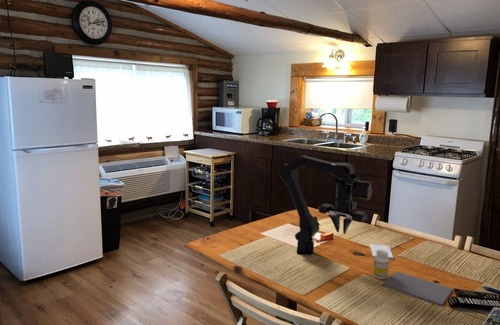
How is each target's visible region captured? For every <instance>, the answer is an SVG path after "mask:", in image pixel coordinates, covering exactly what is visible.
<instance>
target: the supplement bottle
mask: <svg viewBox="0 0 500 325" xmlns="http://www.w3.org/2000/svg"><path fill="white" fill-rule="evenodd" d="M376 254H377V255H376V256H375V257H373V268H372V269H373V270H372V276H373V277H374V278H376V279H379V280H386V279H388V278H389V277H388V276H389V266H390V259H389V258H388V252H387V251H384V250H377V253H376Z"/></svg>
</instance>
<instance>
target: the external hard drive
mask: <svg viewBox="0 0 500 325" xmlns="http://www.w3.org/2000/svg"><path fill="white" fill-rule="evenodd" d="M369 247H370V251H371V255H372V258H374V257H375V256H376V255H377V254H376V253H377V250H384V251H387V252H388V258H389V260H394V259H395V258H394V255H393V253H392V250H391V247H390V246H389V245H385V244H382V245H381V244H375V243H374V244H372V243H371V244H370V245H369Z"/></svg>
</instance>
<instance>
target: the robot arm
mask: <svg viewBox="0 0 500 325" xmlns="http://www.w3.org/2000/svg"><path fill="white" fill-rule="evenodd" d="M304 167H307V168H310V169H314V170H318V171H322V172H325V173H328V174H330V175H332V176H333V177H335V178H334V179H333V180H332V181H331V183H332V184H334V185H335V184H336V190H335V191H336V193H335V194H336V195H335V197H334V199H333V200H334V202H335V205H334V204H330V203H323V204H321V205H320V206H319V207H318V213H320V214H327V212H329V214H328V215H327V217H329V218H330V221H331V222H332V223H333V226H334V229H335V231H336V232H337V233H339V232H340V227H341V226H340V224H341V222H340V220H341V216H342V215H343V216H346V217H345V218H343V220H342V221H343V226H342V231H343V232H342V234H343V235H346V234H347V231H348V229H349V227H350V225H351V224H352V222H357V223H363V222H365V221H366V220H368V213H367V212H366V211H362V210H356V209H357V205H358V202H357V201H353V197H354V198H357V199H363V200H367V201H368V200H370V199H371V197H372V193H373V188H372V182H371V181H364V180H360V178H359V176H358V175H357V173H356V171H355V167H354V165H353V164H351V163H350V162H331V161H328V160H323V159H320V158H316V157H311V156H308V155H306V154H303V155H300V156H298V157H296V158H295V159H293V160H292V161H290V162H289V163H285V164H283V165H280V167H279V169H278V174H279V176H280V178H281V180H282V182H283V183H285V184H286V185H287V187H288V190H289V193H290V196H291V198H292V201H293V203H294V204H293V205H294V207H295V209H296V211H297V214H298V218H299V221H298V222H299V224H298V226H299V231H297V232H296V233H295V234H294V237H295V238H294V239H295V240H296V241H297V246H296V254H297V255H309V256H312V255H313V252H314V249H315V248H314V246H315V245H314V244H315V242H314V239H313V237H315V235H316V234H317V233H318V232H319V230H320V225H321V224H320V223H319V220H318V217H317V215H315V216H313V214H311V212H310V210H309V206H308V203H307V202H306V199H305V196H304V194H303V190H302V187H301V185H300V182H299V181H300V180H299V178H300V177H299V174H300V173H299V170H301V169H302V168H304ZM352 196H353V197H352ZM353 210H354V212H353Z"/></svg>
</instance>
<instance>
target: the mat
mask: <svg viewBox="0 0 500 325" xmlns="http://www.w3.org/2000/svg"><path fill="white" fill-rule="evenodd" d="M380 284H381V287H385V288H386V289H390V290H394V291H396V292H399V293H402V294H405V295H408V296H411V297H414V298H417V299H419V300H423V301H426V302H429V303H431V304H435V305H438V306H440V307H442V306H443V305H444V303H445V302H446V300H448V297H450V295H451V294H452V292H453V288H452V287H449V286H446V285H443V284H440V283H436V282H433V281H430V280H426V279H423V278H420V277H416V276H414V275H410V274H407V273H403V272H400V271H397V270H395V271H394V272H393V273H392V274H390V275H389V277H387V278H386V279H384V281H383V282H382V283H380Z"/></svg>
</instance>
